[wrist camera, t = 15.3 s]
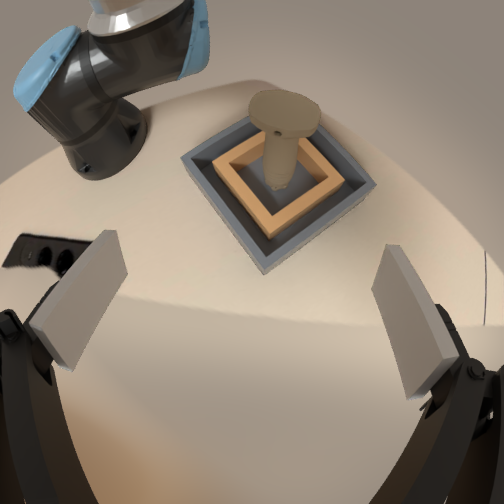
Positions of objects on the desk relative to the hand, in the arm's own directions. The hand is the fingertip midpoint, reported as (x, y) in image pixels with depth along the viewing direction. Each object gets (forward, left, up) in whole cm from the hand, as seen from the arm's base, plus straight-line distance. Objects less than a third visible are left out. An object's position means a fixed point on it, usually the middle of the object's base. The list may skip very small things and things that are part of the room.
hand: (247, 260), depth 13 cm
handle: (-10, +11, -21) cm, 26 cm away
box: (-10, +11, -22) cm, 27 cm away
